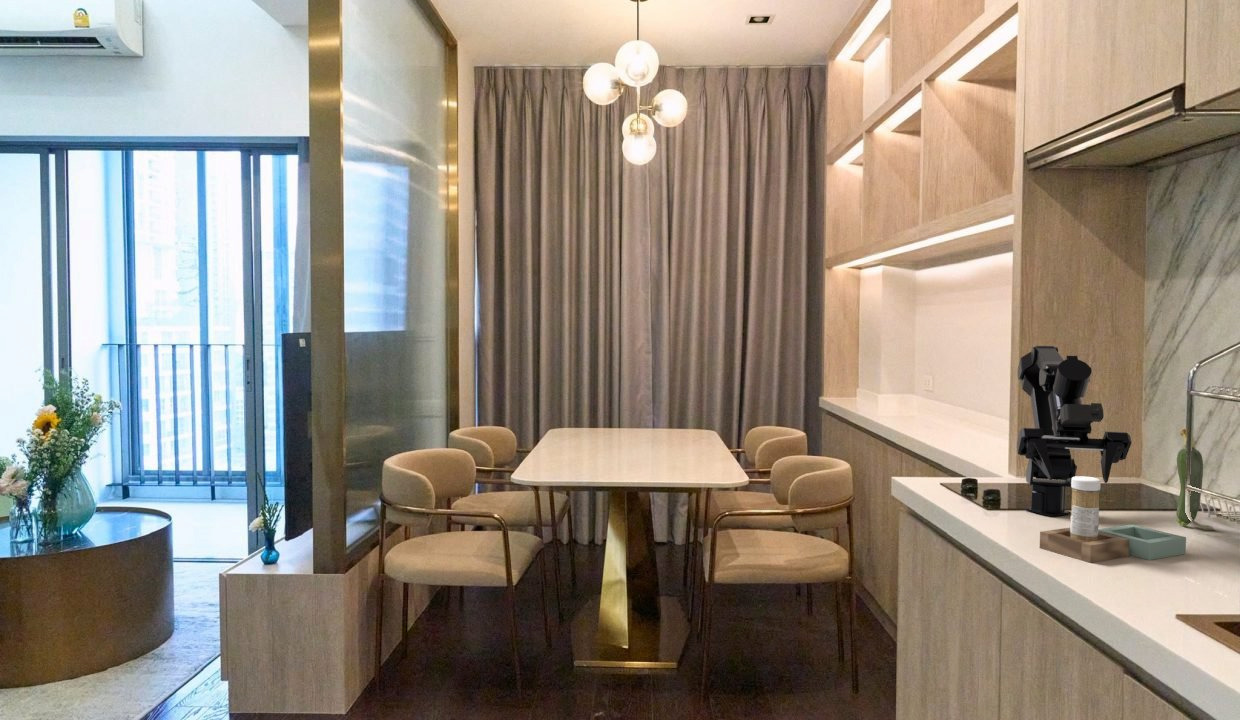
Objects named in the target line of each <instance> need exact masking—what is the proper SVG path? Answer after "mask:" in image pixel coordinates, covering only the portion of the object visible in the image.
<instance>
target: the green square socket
mask: <svg viewBox="0 0 1240 720" xmlns="http://www.w3.org/2000/svg"><path fill="white" fill-rule="evenodd" d="M1098 532H1102V533H1106V534H1110V535H1114V536H1118V537H1122V538H1126V539H1129V556H1132V557H1136V558H1140V559H1144V560H1147V561H1151V560H1157V559H1162V558H1163V559H1164V558H1169V557H1175V556H1180V555H1184V554H1185V555H1186V554H1187V552H1186V551H1187V550H1186V549H1187V537H1186V536H1183V535H1178V534H1174V533H1170V532H1165V531H1162V530H1158V529H1152V528H1148V527H1144V526H1140V525H1136V524H1126V525H1121V526H1120V525H1119V526H1112V527H1105V528H1098Z"/></svg>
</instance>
